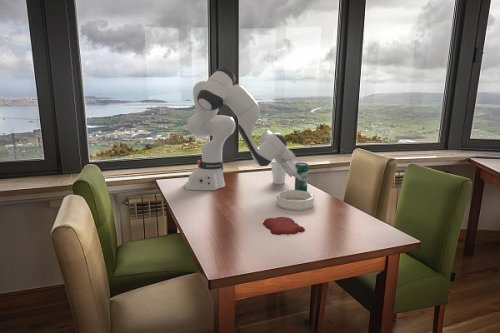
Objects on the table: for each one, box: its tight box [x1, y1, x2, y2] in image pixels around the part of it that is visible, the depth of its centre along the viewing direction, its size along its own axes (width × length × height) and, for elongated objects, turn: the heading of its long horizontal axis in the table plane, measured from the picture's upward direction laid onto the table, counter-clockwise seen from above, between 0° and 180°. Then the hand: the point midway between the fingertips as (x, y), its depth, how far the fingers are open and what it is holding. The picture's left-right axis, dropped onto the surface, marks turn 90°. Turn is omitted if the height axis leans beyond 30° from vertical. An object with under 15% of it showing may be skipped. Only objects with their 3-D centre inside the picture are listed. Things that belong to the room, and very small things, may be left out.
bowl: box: [275, 189, 315, 212], centre depth 177 cm, size 17×17×4 cm
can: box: [294, 162, 309, 192], centre depth 193 cm, size 6×6×15 cm
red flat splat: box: [262, 216, 305, 236], centre depth 151 cm, size 18×14×2 cm
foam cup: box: [270, 159, 287, 185], centre depth 213 cm, size 10×9×13 cm
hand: (302, 177), depth 192 cm, fingers closed on can, 6 cm apart
